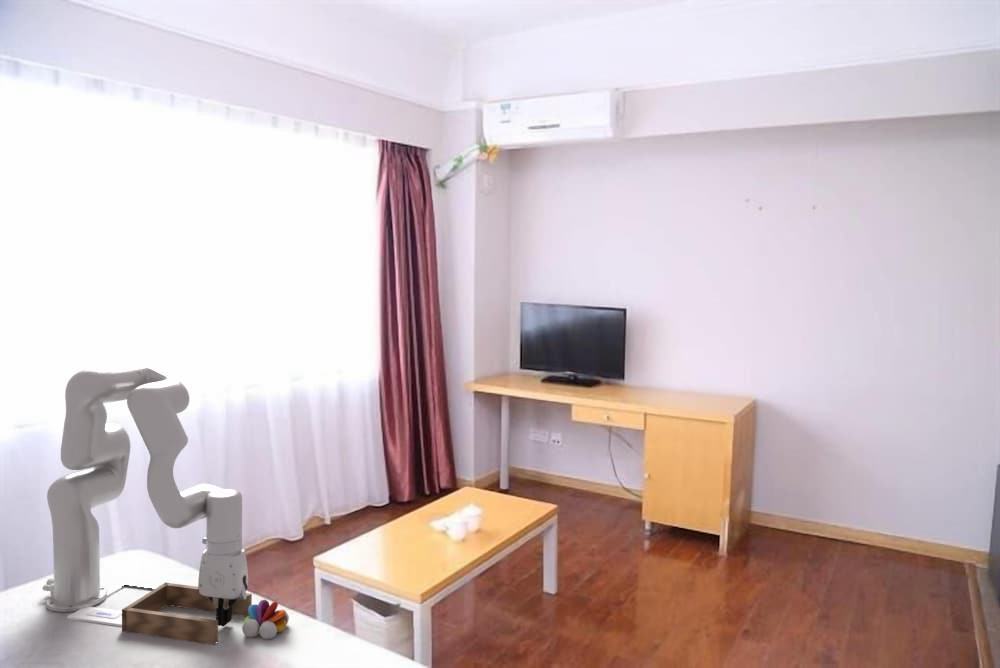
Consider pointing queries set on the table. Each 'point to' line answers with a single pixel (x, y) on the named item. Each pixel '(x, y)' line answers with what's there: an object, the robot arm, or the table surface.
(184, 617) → the u-shaped wooden frame
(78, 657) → the table surface
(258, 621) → the rainbow roller toy
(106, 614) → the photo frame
